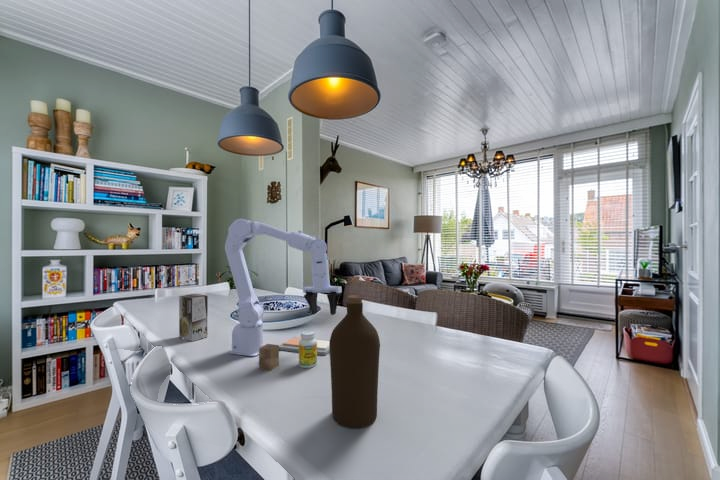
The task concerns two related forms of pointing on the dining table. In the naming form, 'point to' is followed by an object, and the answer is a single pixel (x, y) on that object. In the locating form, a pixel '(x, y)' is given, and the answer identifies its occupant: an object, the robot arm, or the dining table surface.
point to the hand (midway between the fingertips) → (323, 313)
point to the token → (268, 357)
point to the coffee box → (193, 316)
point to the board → (294, 346)
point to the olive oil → (354, 368)
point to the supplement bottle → (307, 350)
